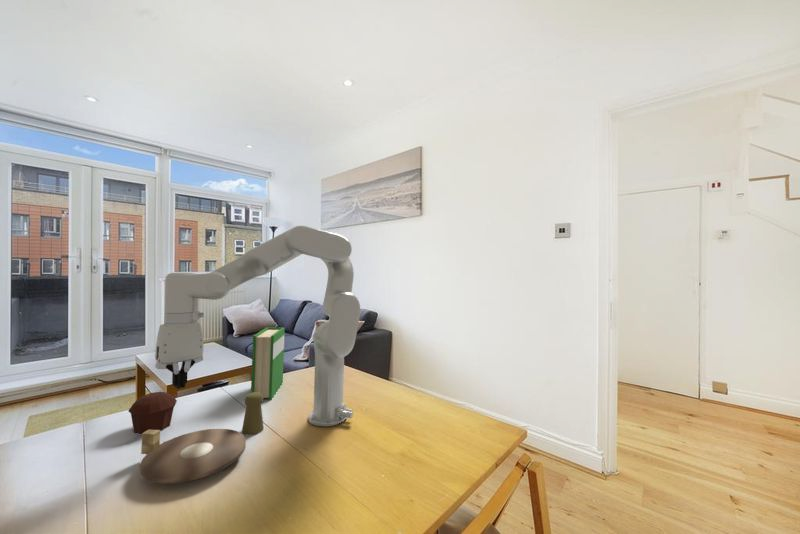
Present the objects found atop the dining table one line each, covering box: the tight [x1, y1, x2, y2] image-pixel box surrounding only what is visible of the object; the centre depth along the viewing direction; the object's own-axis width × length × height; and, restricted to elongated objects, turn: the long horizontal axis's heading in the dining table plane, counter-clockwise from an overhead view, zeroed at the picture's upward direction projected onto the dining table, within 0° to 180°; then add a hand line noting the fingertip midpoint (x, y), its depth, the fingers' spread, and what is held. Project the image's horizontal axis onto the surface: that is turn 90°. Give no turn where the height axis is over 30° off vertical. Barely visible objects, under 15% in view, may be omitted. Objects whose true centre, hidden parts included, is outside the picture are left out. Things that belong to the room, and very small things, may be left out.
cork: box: [241, 392, 265, 436], centre depth 96 cm, size 6×6×11 cm
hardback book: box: [250, 327, 286, 401], centre depth 127 cm, size 18×7×24 cm, turn 7°
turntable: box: [139, 428, 247, 484], centre depth 79 cm, size 23×22×5 cm
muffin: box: [128, 391, 178, 435], centre depth 96 cm, size 12×11×10 cm
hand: (179, 386), depth 85 cm, fingers closed
